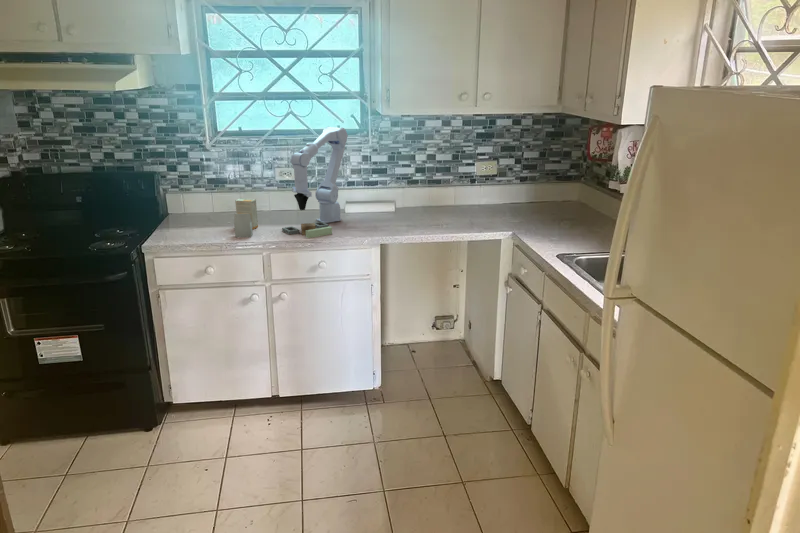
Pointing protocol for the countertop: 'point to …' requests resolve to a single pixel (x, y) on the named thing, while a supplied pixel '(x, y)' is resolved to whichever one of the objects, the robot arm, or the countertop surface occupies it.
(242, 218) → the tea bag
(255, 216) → the supplement box
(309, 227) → the tan block
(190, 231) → the countertop surface
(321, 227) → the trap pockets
